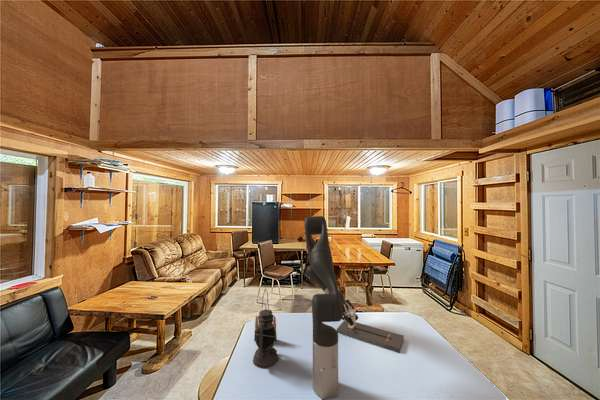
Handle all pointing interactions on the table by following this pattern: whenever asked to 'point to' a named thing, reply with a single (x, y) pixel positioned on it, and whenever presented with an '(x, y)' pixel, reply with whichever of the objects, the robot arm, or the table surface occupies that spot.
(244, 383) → the table surface
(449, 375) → the table surface
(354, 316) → the fader cap
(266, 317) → the lantern
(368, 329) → the grey fader track base
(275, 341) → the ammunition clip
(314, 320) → the robot arm
